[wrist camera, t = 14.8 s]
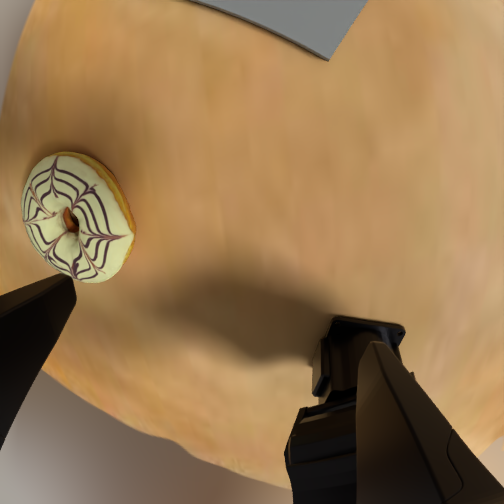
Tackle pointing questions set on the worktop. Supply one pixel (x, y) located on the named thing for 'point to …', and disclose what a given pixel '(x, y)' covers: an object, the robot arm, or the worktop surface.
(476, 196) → the worktop surface
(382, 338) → the robot arm
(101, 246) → the decorated donut
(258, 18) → the mat
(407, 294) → the worktop surface
